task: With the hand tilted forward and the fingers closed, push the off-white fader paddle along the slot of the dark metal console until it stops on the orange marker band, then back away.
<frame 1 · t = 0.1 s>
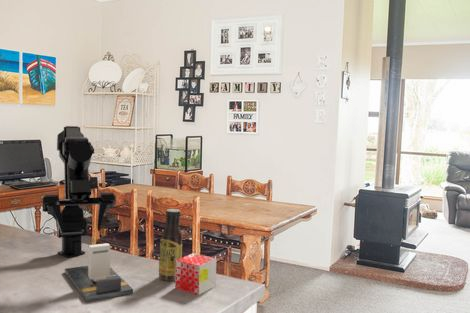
hand: (80, 231, 126), 15 cm above the counter, tool tilted 35°, fingers open, 9 cm apart
console: (96, 282, 130), on the counter
sauce bottle: (170, 278, 136), on the counter
fader tab: (99, 262, 128), point 6 cm above the counter, slide at 2.0 cm
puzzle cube: (195, 288, 130), on the counter
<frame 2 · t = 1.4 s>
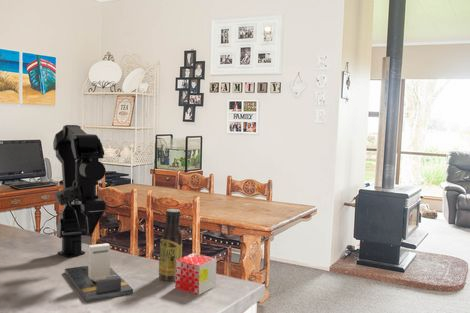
hand: (85, 230, 139), 12 cm above the counter, tool pointing down, fingers open, 9 cm apart
nothing on the counter moved.
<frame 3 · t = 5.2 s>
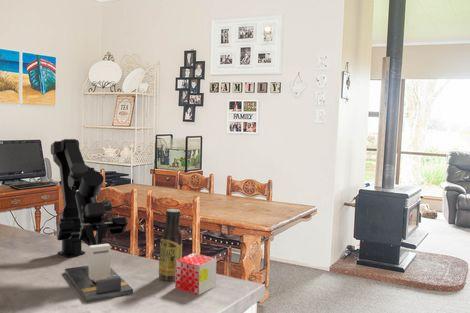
hand: (98, 254, 129), 8 cm above the counter, tool tilted 45°, fingers closed, pressing on fader tab
fader tab: (99, 262, 128), point 6 cm above the counter, slide at 2.3 cm, touching gripper
everything else where it was.
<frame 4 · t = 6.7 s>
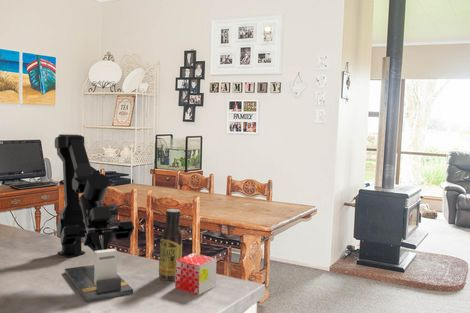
hand: (104, 260, 124), 8 cm above the counter, tool tilted 45°, fingers closed, pressing on fader tab
fader tab: (105, 268, 123), point 6 cm above the counter, slide at 7.8 cm, touching gripper
everything else where it was.
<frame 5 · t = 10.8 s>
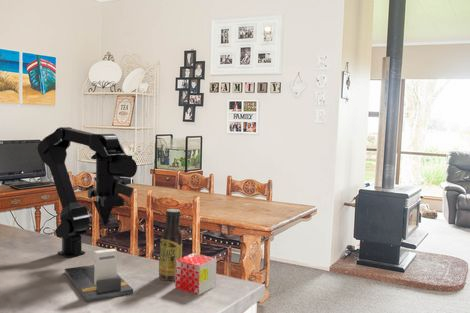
hand: (105, 224, 147), 12 cm above the counter, tool pointing down, fingers closed
fader tab: (105, 268, 123), point 6 cm above the counter, slide at 7.8 cm
everything else where it was.
at the end: fader tab slide at 7.8 cm; the gripper is holding nothing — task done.
